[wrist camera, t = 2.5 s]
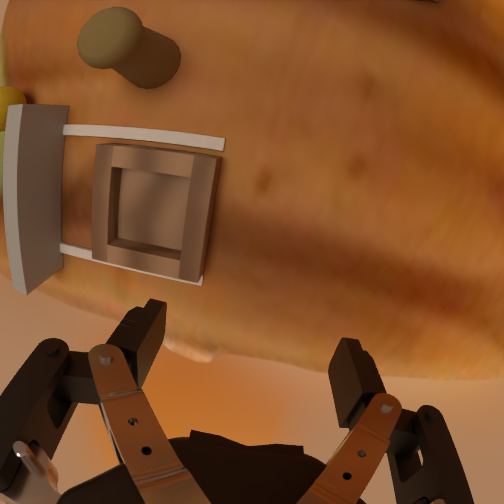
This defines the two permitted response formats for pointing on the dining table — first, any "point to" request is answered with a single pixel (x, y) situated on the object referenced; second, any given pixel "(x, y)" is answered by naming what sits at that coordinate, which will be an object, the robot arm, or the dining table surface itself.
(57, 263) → the backstop
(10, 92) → the lemon
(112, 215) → the socket block
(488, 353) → the dining table surface
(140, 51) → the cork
